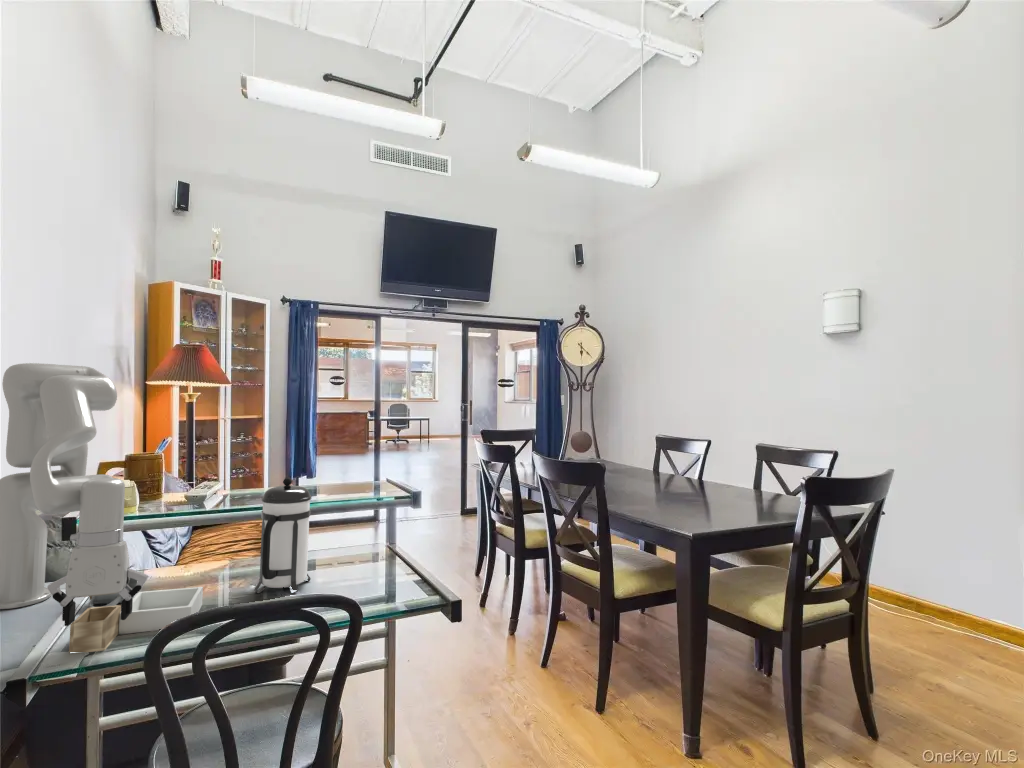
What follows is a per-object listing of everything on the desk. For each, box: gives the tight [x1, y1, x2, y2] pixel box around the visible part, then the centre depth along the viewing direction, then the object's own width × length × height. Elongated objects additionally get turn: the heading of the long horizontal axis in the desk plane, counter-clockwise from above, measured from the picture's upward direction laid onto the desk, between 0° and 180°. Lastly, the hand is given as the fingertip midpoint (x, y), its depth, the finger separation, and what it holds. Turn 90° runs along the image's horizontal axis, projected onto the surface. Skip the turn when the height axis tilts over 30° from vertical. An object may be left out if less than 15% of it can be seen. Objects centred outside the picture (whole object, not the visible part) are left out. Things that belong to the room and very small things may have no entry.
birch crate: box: [68, 604, 121, 653], centre depth 113 cm, size 6×9×6 cm, turn 20°
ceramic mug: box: [89, 578, 138, 608], centre depth 134 cm, size 11×8×8 cm
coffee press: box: [254, 477, 312, 594], centre depth 148 cm, size 17×16×30 cm
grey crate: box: [118, 586, 204, 635], centre depth 126 cm, size 14×14×4 cm
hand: (97, 620), depth 113 cm, fingers open, 9 cm apart
